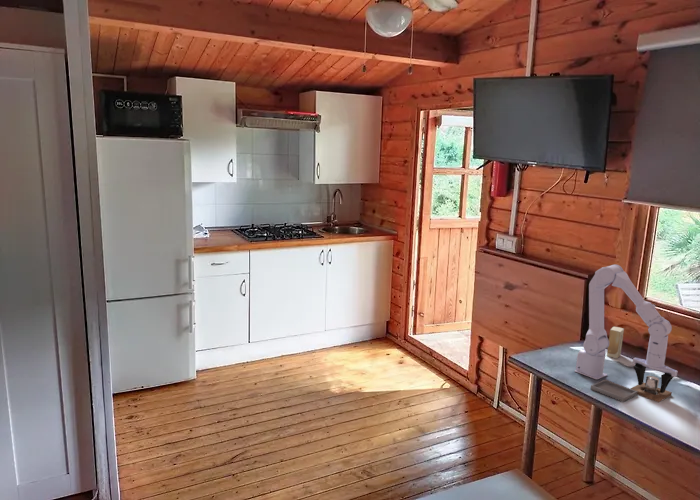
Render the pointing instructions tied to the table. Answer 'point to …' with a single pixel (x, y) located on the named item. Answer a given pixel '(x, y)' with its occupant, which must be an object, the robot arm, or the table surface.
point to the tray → (614, 390)
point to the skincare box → (615, 342)
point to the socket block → (656, 397)
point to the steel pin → (651, 384)
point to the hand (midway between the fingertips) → (651, 388)
